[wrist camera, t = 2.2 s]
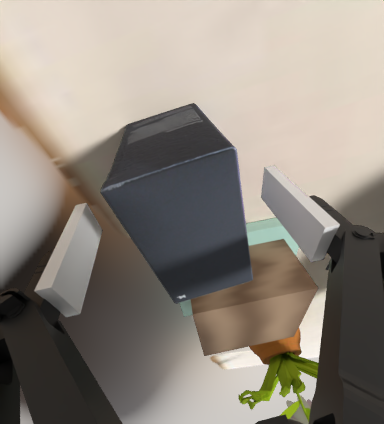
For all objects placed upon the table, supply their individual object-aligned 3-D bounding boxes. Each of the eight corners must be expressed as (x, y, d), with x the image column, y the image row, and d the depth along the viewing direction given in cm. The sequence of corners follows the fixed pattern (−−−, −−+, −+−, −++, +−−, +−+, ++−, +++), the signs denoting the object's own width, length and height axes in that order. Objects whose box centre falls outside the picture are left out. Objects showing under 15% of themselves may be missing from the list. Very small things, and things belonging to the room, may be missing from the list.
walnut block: (283, 238, 26) (318, 288, 20) (271, 291, 34) (293, 336, 28) (184, 258, 25) (192, 314, 20) (196, 307, 34) (204, 356, 28)
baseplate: (300, 213, 25) (306, 220, 24) (279, 288, 37) (283, 295, 36) (160, 240, 25) (160, 249, 24) (183, 308, 36) (184, 316, 35)
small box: (221, 201, 23) (258, 283, 14) (166, 217, 23) (172, 308, 15) (199, 99, 16) (245, 145, 8) (122, 124, 16) (90, 194, 8)
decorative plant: (235, 354, 57) (276, 510, 37) (201, 327, 42) (241, 558, 23) (330, 323, 53) (433, 482, 33) (330, 281, 38) (514, 519, 18)
